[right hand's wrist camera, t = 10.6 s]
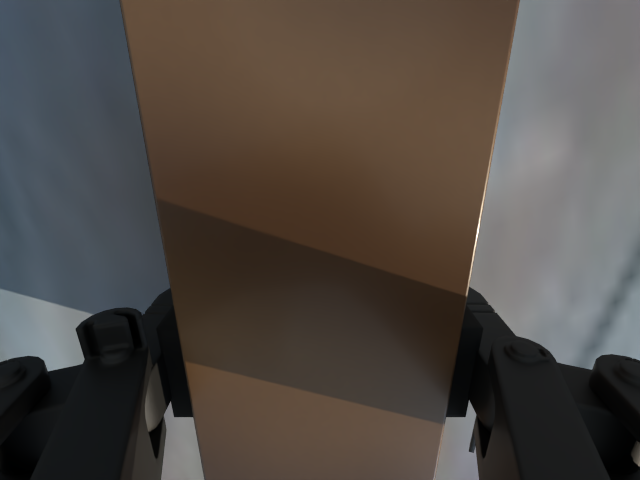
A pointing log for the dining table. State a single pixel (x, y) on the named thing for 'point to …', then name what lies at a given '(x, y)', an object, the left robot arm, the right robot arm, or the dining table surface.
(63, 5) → the dining table surface
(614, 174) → the dining table surface
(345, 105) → the post
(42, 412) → the right robot arm
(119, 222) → the dining table surface
